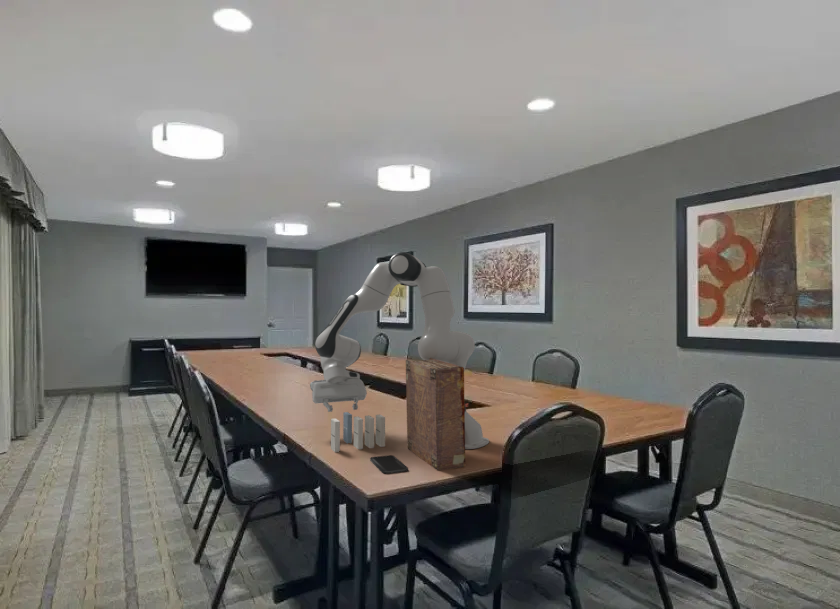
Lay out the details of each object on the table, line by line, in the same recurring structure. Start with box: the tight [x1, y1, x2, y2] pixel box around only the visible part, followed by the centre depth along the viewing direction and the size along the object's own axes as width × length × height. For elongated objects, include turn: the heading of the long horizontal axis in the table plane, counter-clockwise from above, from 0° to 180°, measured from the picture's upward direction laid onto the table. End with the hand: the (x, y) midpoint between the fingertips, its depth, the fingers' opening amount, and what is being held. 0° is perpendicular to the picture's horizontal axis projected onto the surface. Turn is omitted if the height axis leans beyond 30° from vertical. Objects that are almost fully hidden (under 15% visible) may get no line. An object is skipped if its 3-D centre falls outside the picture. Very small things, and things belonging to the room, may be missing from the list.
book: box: [405, 358, 466, 471], centre depth 162 cm, size 25×9×30 cm, turn 22°
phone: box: [369, 454, 409, 475], centre depth 153 cm, size 8×1×15 cm
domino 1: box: [330, 417, 341, 453], centre depth 169 cm, size 2×5×10 cm, turn 25°
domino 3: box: [353, 416, 364, 450], centre depth 173 cm, size 2×5×10 cm, turn 25°
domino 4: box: [364, 415, 375, 449], centre depth 174 cm, size 2×5×10 cm, turn 25°
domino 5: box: [375, 414, 386, 448], centre depth 176 cm, size 2×5×10 cm, turn 26°
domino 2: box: [342, 411, 353, 445], centre depth 180 cm, size 2×5×10 cm, turn 25°
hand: (343, 409), depth 186 cm, fingers open, 8 cm apart
